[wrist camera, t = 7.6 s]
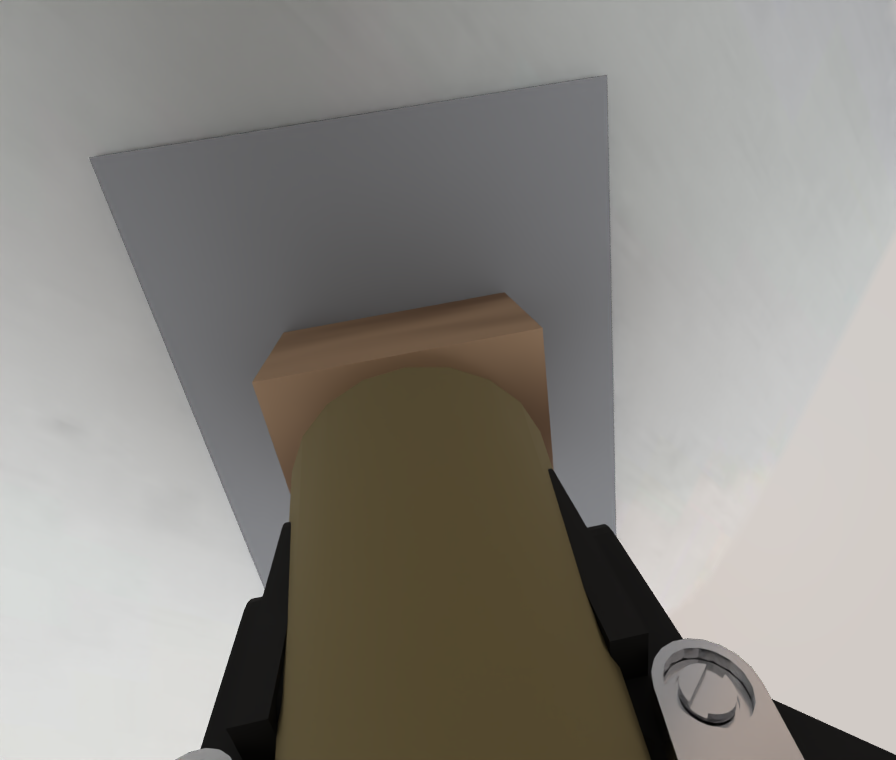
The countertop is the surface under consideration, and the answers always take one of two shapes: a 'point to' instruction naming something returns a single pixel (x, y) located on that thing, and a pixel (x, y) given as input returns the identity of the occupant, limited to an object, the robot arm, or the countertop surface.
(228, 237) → the mat
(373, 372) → the walnut block
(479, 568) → the olive green rounded piece
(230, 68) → the countertop surface
